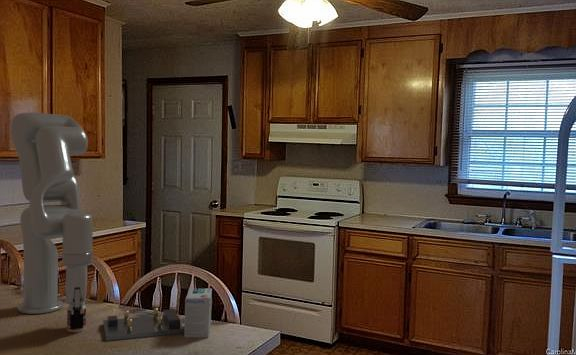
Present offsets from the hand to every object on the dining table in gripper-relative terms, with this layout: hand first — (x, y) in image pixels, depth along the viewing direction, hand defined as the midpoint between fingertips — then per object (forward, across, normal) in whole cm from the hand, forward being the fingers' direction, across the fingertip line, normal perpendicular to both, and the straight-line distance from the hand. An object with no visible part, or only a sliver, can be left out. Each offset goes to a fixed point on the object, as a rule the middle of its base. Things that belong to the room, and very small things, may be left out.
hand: (76, 324), depth 144 cm
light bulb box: (+2, +11, +31) cm, 33 cm away
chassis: (+1, +4, +17) cm, 18 cm away
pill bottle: (+2, 0, 0) cm, 2 cm away
